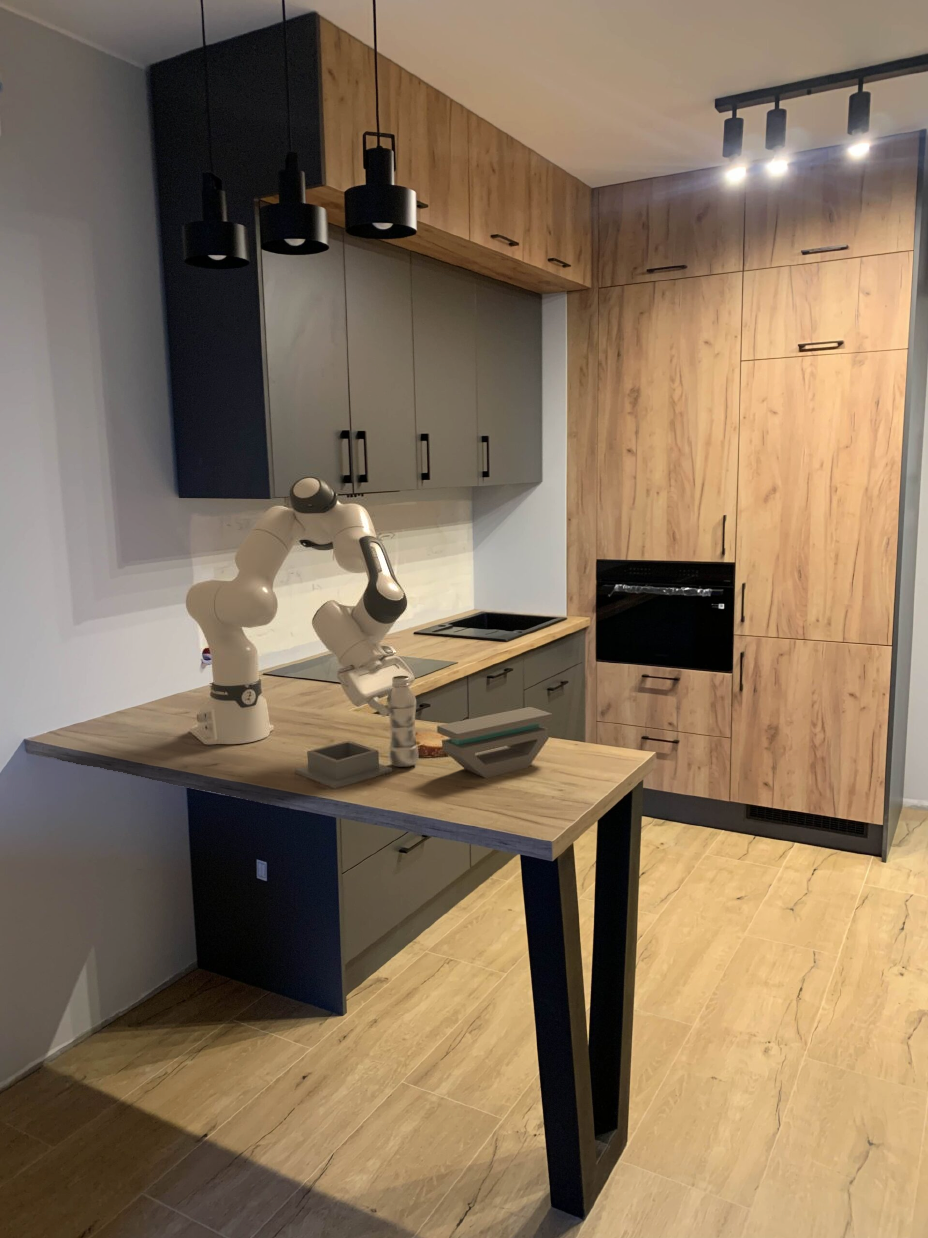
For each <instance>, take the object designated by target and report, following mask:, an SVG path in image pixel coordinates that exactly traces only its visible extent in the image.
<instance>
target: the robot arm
mask: <svg viewBox="0 0 928 1238" xmlns="http://www.w3.org/2000/svg"><path fill="white" fill-rule="evenodd" d="M288 497H289V504H290V506H291V508H289V507H286V506H284V505H274V506H272V507H270V508H268V510H266V511H265V512H264V513H263V515H262V516H261V517H260V518H259V519H257V521H256V522H255V524H254V526H253V527H252V528H251V530H250V531H249V532H248V534H247V535H246V537H245V539H244V540H243V542H242V543H241V545H240V547H239V548H238V549H237V551H236V552H235V554H234V562H235V565H236V568H237V569H238V573H237V575H236V577H235V578H233V579H232V580H216V579H212V580H211V579H210V580H205V581H202V582H197V583H194V584H193V585H192V586H191V587H190V588H189V589H188V592H186V593H187V594H186V596H185V597H186V598H185V608H186V611H187V613H188V614H189V616H190V617H191V618H192V619H193V620H194V621H195V622H196V623H197V624H198V626H199V628H200V629H201V631H202V633H203V636H204V637H205V640H206V643H207V645H208V646H207V647H208V649H209V654H210V661H211V671H212V673H211V674H212V682H209V685H210V686H209V688H210V689H209V690H210V694H209V696H210V697H209V698H208V699H207V701H206V702H205V703H204V704H203V705H201V707H200V708H199V711H198V713H197V714H196V719H197V722H198V724H195V725H192V726H191V727H190V729H189V732H190V733H191V734H192V735H193V736H195V737H196V738H197V739H198V740H199V741H200V742H201V743H203V744H204V745H237V744H238V745H239V744H248V743H252V742H257V741H259V740H263V739H266V738H267V737H268V736H269V735H270V732H272V731H273V730H275V727H274V726H275V725H273V724H271V723H270V717H269V710H268V704H267V700H266V698H265V697H263V696H262V695H261V694H263V693H262V692H263V691H262V690H263V689H262V687H263V686H262V679H261V678H260V673H259V672H260V671H259V657H258V655H259V653H258V650H257V647H256V646H255V645H254V643H252V641H251V640H249V639H248V638H247V636H246V634H245V632H244V629H243V628H251V629H252V628H257V627H263V626H267V625H268V624H270V623H271V622H273V620H274V618H275V617H276V614H277V612H278V608H279V607H278V606H279V604H278V598H277V595H276V593H275V592H274V589H273V587H274V581H275V579H276V576H277V575H278V572H279V570H280V569H281V567H282V566H283V563H284V561H285V560H286V559H287V557H288V556H289V553H290V551H292V550H291V549H293V547H294V546H295V544H296V543H297V542H299V543H300V545H301V546H303V547H304V548H307V549H308V548H311V549H313V550H317V551H331V550H333V555H334V557H335V560H336V562H337V565H338V566H339V567H340V568H341V569H344V570H345V571H347V572H349V573H351V574H352V573H354V574H362V573H363V574H364V573H365V574H366V577H367V584H366V588H365V590H364V592H362V595H361V597H360V598H359V601H357V603H356V605H353V606H352V605H345V604H340V603H339V602H338V601H336V600H335V599H331V600H327V601H326V602H325V603H323V604H322V605H321V606H320V607H319V608H318V609H317V610H316V612H315V614H314V615H313V617H312V620H311V626H312V629H313V631H314V632H315V633H316V635H317V637H318V639H319V640H320V642H321V643H322V645H324V646H325V648H326V650H327V651H328V652H330V653H331V654H333V655H334V657H335V658H336V661H337V664H338V665H339V666H340V668H339V669H338V670H337V673H336V678H337V680H338V682H340V686H341V688H342V691H343V692H344V693H345V695H346V697H347V698H348V700H349V701H350V702H351V703H352V705H354V706H356V707H362V706H365V705H366V704H367V705H368V706H369V707H370V708H371V709H372V710H373V709H374V710H375V711H376V712H379V714H380V715H381V716H382V717H384V718H385V717H387V716H389V713H391V709H390V708H389V707H388V706H387V704H384V703H382V702H381V701H379V700H380V699H383V698H385V697H386V698H387V697H388V695H389V694H390V692H391V691H392V689H393V686H392V677H394V676H409V683H410V686H411V685H412V684H413V683H414V681H415V674H414V673H413V672H412V670H411V669H410V667H409V666H408V664H406V662H405V661H404V660H403V659H402V658H401V657H400V656H398V655H396V653H397V652H396V650H395V648H394V647H393V646H391V645H387V644H386V645H385V644H380V643H382V641H383V640H384V638H385V637H386V635H388V633H389V632H390V631H391V629H392V627H393V626H394V624H395V623H396V621H398V619H399V618H400V617H401V616H402V615H403V613H404V612H405V611H406V610H407V607H408V599H407V596H406V595H407V594H406V593H405V591H404V589H403V587H402V586H401V584H400V583H399V581H398V579H397V577H396V575H395V572H394V569H393V566H392V563H391V560H390V558H389V555H388V553H387V552H388V551H387V549H386V547H385V545H384V544H383V543H382V541H381V540H380V539H379V538H377V533H376V530H375V526H374V524H373V521H372V519H371V517H370V514H369V512H368V511H367V509H365V508H364V507H363V506H362V505H360V504H359V503H358V504H357V503H341V502H340V501H339V500H338V498H339V495H338V493H337V492H336V491H335V490H333V489H332V488H331V487H330V485H328V484H327V483H326V481H324V480H323V479H322V478H321V477H317V476H311V475H310V476H305V477H302V478H300V479H298V480H296V481H295V482H293V484H292V485H291V487H290V489H289V496H288ZM410 686H409V689H410V690H411V691H412V689H411V687H410Z"/></svg>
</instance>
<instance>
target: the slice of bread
mask: <svg viewBox="0 0 928 1238" xmlns="http://www.w3.org/2000/svg"><path fill="white" fill-rule="evenodd" d="M415 735H416V742H417V746H418V751H419V757H420V756H441V757H446V756H445V755H448V754H447V753H446V752H444V751H443V750H442V740H444V739H449V737H446V736H444V735H441V734H439V733H437V731H430V732H415Z"/></svg>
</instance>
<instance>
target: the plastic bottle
mask: <svg viewBox="0 0 928 1238" xmlns="http://www.w3.org/2000/svg"><path fill="white" fill-rule="evenodd" d="M392 686H393V689H392V691H391V692H390V694H389V695H388V696H386V701H385V702H386V705H387V706H388V707H389V708H390V709H391V713H389V715H388V718H389V726H390V727H389V729H390V734H389V735H390V736H389V737H390V738H389V739H390V740H389V749H388V758H389V762H390V764H391V765H392V766H394V767H399V768H400V767H401V768H403V767H404V768H405V767H406V768H407V767H411V766H415V765H416V764H417V763H418V761H419V757H420V756H419V751H418V746H417V742H416V735H415V733H416V727H415V726H416V724H415V723H416V710H417V699H416V698H417V697H416V695H415V694H414V692H413V691H412V689H411V688H410V689H411V690H410V689H409V687H410V686H411V685H410V683H409V676H394V677H392Z"/></svg>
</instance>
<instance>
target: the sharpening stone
mask: <svg viewBox="0 0 928 1238" xmlns="http://www.w3.org/2000/svg"><path fill="white" fill-rule="evenodd" d="M551 721H553V713H551V712H548V711H544V710H542V709H539V708H537V707H536V708H535V707H533V706H528V707H523V708H519V709H518V708H517V709H513V710H507V711H504V712H497V713H493V714H488V715H482V716H479V717H474V718H468V719H463V720H458V721H454V722H450V723H445V724H440V725H436V728H437V729H436V732H437V733H439V734H441V735H444V736H446V737H449V739H444V740H442V750H443V751H444V752H446V753H447V754H448V755H449V756H448V757H450V758H452V759H453V760H454V761H455V762H456V763H457V764H459V765H460V766H461V767H462V768H463V769H465V770H467V771H469V772H471V773H473V774H476V775H478V776H480V777H482V778H485V779H486V778H491V777H495V776H499V775H504V774H506V773H510V772H515V771H519V770H523V769H528V768H529V767H530V766H531V764H533V762H534V760H535V758H536V757H537V756H538V755H539V753H540V752H541V750H542V749H543V748H544V746H545V744H546V743H547V742H548V740H549V728H547V727H543V726H540V724H542V723H546V722H551Z"/></svg>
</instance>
